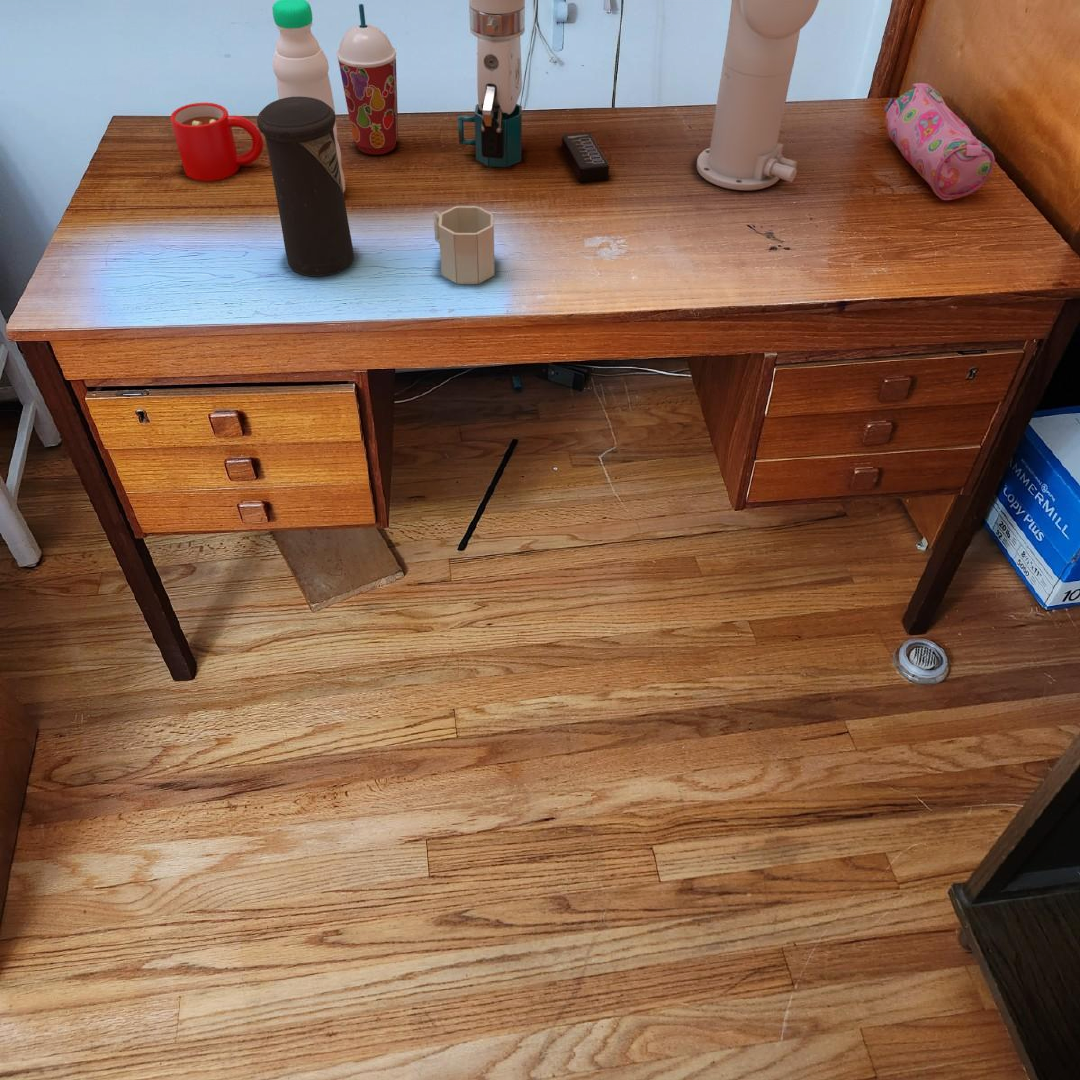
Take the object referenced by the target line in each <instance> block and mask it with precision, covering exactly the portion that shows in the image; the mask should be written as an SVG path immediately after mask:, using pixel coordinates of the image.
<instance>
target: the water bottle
mask: <svg viewBox="0 0 1080 1080" xmlns="http://www.w3.org/2000/svg"><path fill="white" fill-rule="evenodd" d="M312 11H313V10H312V7H311V5H310V3H309V2H308V1H307V0H277V1H275V2H274V3H273V5H272V17H273V21H274V24H275V27H276V29H278V30H279V37H278V39H277V41H276V46H275V47H276V48H275V51H274V54H273V57H272V69H273V73H274V75H275V78H276V87H277V95H278V100H279V99H283V98H288V97H310V98H315V99H318V100H321V101H323V102H325V103H326V104H327V105H329V106H330V107H331V108H332V109H333V110H334V113H335V114H336V109H335V103H334V97H333V91H332V90H333V89H332V85H331V80H330V76H329V69H330V66H329V61H328V57H327V56H326V54H325V52H324V50H323V49H322V47H321V46H320V44H319V42H318V40H317V38H316V37H315V35H313V33H312V30H311V28H312V26H313V12H312ZM337 127H338V125H337V120H336V121H335V124H334V127H333V131H334V138H335V144H336V151H337V157H338V163H339V169H340V175H341V181H342V187H343V193H345V191H346V181H345V175H344V170H343V167H342V166H343V165H342V152H341V147H340V144H339V140H338V128H337Z"/></svg>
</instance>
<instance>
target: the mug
mask: <svg viewBox="0 0 1080 1080" xmlns="http://www.w3.org/2000/svg"><path fill="white" fill-rule="evenodd" d="M170 122H171V126H172V130H173V134H174V137H175V140H176V145H177V148H178V149H177V150H178V151H179V156H180V160H181V163H182V167H183V171H184V174H185V175H186V176H187V177H189V178H190V179H192V180H194V181H195V180H196V181H200V182H213V181H214V182H215V181H220V180H223V179H226V178H229V177H231V176H233V175H235V174H236V173H237V172H238V170H239V169H240V166H246V165H250V164H252V163H254V162H255V161H256V160H258V158H259V157H260V156H261V154H262V152H263V149H264V139H263V137H262V134H261V131H260V130H259V128H258V126H257V125H256V124H255V123H253V122H252V121H250V120H249V119H248V118H246V117H244V116H240V115H229V112H228V110H227V108H226V107H225V106H222V105H221V104H219V103H214V102H194V103H190V104H185V105H182V106H180V107H178V108H177V109H175V110H173V112H172V113H171V115H170ZM232 127H235V128H240V129H243V130H245V131H246V132H247V133H248V134H249V136H250V137H251V142H252V145H251V148H250V150H249V151H248V152H246V153H243V154H238V151H237V148H236V142H235V139H234V133H233V129H232Z"/></svg>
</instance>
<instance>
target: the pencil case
mask: <svg viewBox="0 0 1080 1080" xmlns="http://www.w3.org/2000/svg"><path fill="white" fill-rule="evenodd" d="M912 87H915V88H913V89H910V90H908V91H907V92H905V93H903V94H902V95H900V96H899V97H898V98H896V99H895V98H894V97H893V96H892V97H890V99H889V101H888V102H887V103H886V105H885V106H884V107H883V109H884V111H885V112H886V114H885V116H884V127H885V130H886V133H887V136H888V137H889V138H890V140H891V141H892V142H893V144H894V145H895V147H897V149H898V150H899V152H900V153H901V155H902V156H903V157H904V159H905V160H906V161H907V163H909V165H910V166H912V168H913V169H914V170H915V171H916V172H917V173H918V174H919V176H920V177H921V178H922V179H923V180H924V181H925V182H926V183H927V184H928V185H929V187H930V188H931V190H932V191H933V193H934V194H935V195H936V196H937V197H938V198H939V199H940V200H943V201H952V200H956V199H961V198H965V197H966V196H969V195H971V194H973V193H975V192H976V191H978V189H980V188H981V187H982V186H983V185H984V184H985V183H986V182H987V181H988V179H989V178H990V177H991V174H992V173H993V170H994V168H995V161H996V158H995V155H994V152H993V151H992V149H991V148H989V147H988V146H987V145H986V143H983V142H982V141H981V140H979V139H977V137H976V136H975V135H974V134H973V133H972V131H971V129H970V127H968V125H967V124H966V123H965V122H964V121H963V120H962V119H961V118H960V117H959V116H957V114H955V113H954V112H953V111H952V110H951V108H949V107H948V106H947V104H946V103H945V101H944V99H943V98H944V97H943V96H942V95H941V94H940V92H939V91H938V90H936V89H935V88H934V87H933V86H931V85H930V84H929V83H925V82H919V83H918V82H916V83H913V84H912Z"/></svg>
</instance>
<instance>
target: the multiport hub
mask: <svg viewBox="0 0 1080 1080" xmlns="http://www.w3.org/2000/svg"><path fill="white" fill-rule="evenodd" d="M561 151H562V153H563V155H564V158H565V159H566V161H567V163H568V164H569V166H570V168H571V170H572V172H573V174H574V176H575V177H576V179H577V181H578V183H580V184H589V183H599V182H606V181H609V173H610V164H609V162H608V161H607V159H606V157H605V155H604V154H603V152H602V150H601V149H600V147H599V145H598V144H597V142H596V140H595V138H594V137H593V136H592V134H591V132H589V131H583V132H574V133H563V134H562V135H561Z"/></svg>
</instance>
